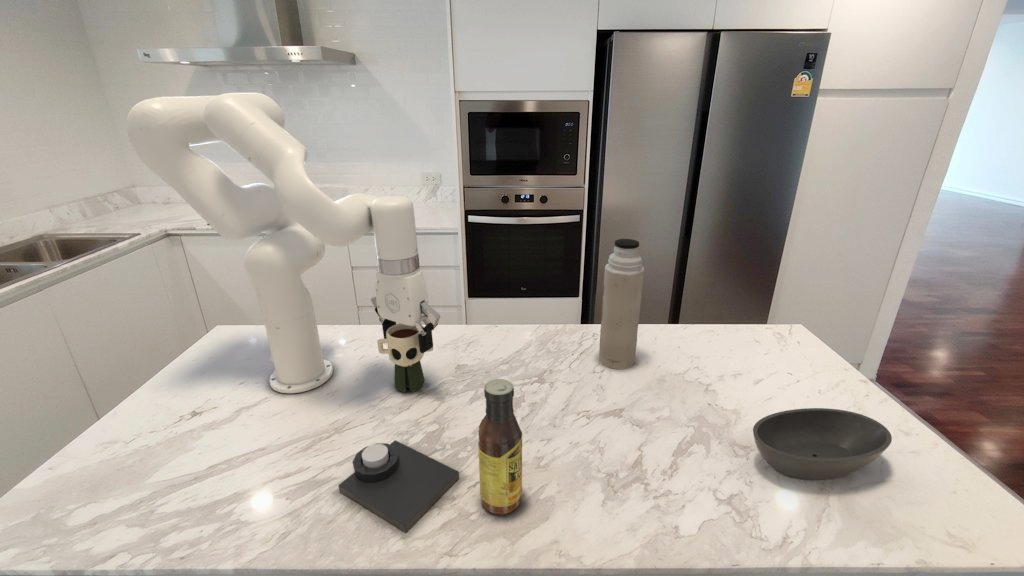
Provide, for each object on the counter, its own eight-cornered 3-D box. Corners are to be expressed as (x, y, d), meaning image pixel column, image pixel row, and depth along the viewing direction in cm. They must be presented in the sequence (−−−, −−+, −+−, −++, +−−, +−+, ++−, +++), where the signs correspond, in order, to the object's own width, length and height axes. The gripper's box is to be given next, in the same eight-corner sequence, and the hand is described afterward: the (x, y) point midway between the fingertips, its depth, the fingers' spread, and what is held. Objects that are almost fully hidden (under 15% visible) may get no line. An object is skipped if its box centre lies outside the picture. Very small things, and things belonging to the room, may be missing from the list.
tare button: (357, 463, 76) (356, 455, 75) (376, 448, 79) (375, 440, 78) (375, 472, 74) (374, 465, 73) (394, 457, 77) (393, 449, 76)
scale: (333, 488, 75) (330, 473, 73) (390, 443, 84) (388, 429, 83) (406, 533, 67) (403, 517, 66) (459, 478, 76) (458, 463, 75)
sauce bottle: (517, 520, 69) (516, 405, 61) (475, 513, 70) (469, 399, 62) (525, 486, 74) (525, 377, 67) (486, 480, 76) (482, 372, 68)
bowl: (729, 446, 82) (735, 416, 80) (843, 431, 85) (852, 402, 83) (775, 501, 71) (784, 469, 69) (904, 482, 74) (917, 450, 72)
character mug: (380, 396, 97) (372, 340, 92) (386, 377, 103) (379, 323, 98) (434, 394, 97) (430, 337, 92) (437, 374, 104) (432, 321, 99)
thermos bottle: (592, 362, 108) (600, 242, 97) (608, 347, 114) (616, 233, 103) (626, 373, 103) (637, 249, 93) (640, 357, 109) (652, 239, 99)
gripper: (351, 262, 91) (364, 341, 98) (419, 278, 83) (428, 363, 89) (381, 251, 97) (391, 326, 104) (447, 265, 88) (453, 346, 95)
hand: (408, 343), depth 96 cm, fingers open, 9 cm apart
